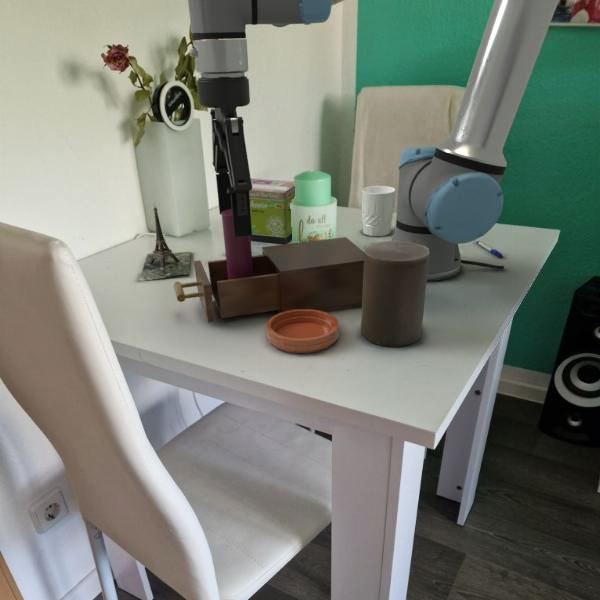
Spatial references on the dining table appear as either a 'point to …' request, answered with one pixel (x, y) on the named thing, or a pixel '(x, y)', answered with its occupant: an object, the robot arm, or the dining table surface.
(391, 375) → the dining table surface
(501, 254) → the ballpoint pen
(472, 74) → the robot arm
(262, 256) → the drawer
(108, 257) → the dining table surface
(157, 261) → the eiffel tower figurine
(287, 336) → the saucer
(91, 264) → the dining table surface
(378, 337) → the pillar candle
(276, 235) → the tea box
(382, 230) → the white cup
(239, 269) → the dark purple cylinder
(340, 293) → the cabinet
